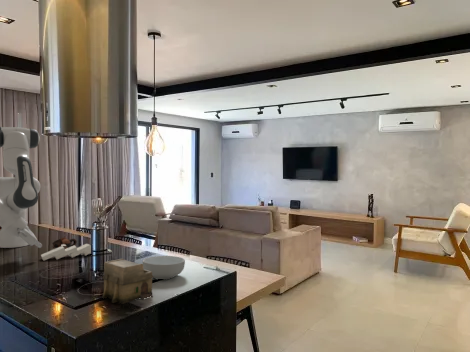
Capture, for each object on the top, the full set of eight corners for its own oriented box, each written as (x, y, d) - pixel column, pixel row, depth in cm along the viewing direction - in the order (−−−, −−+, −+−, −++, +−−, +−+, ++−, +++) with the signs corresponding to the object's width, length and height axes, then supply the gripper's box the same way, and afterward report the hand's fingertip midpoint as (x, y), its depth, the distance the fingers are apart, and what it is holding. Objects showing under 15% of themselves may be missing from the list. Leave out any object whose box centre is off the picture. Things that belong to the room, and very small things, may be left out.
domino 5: (91, 252, 180) (111, 250, 186) (89, 251, 184) (108, 249, 190) (91, 256, 180) (111, 254, 186) (89, 255, 184) (108, 252, 190)
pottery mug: (60, 254, 184) (53, 240, 185) (54, 259, 190) (48, 246, 191) (81, 245, 193) (75, 232, 194) (76, 250, 199) (69, 237, 200)
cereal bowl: (193, 277, 143) (193, 260, 143) (157, 286, 132) (158, 266, 132) (168, 269, 155) (168, 253, 155) (134, 276, 143) (134, 259, 144)
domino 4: (84, 251, 178) (102, 242, 185) (80, 251, 182) (97, 242, 189) (85, 255, 179) (103, 246, 186) (81, 254, 182) (99, 245, 189)
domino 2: (55, 255, 170) (76, 246, 176) (53, 253, 175) (74, 245, 180) (56, 259, 171) (77, 250, 176) (55, 257, 175) (75, 248, 180)
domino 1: (42, 256, 167) (64, 247, 173) (40, 254, 171) (62, 245, 177) (43, 260, 168) (65, 251, 173) (42, 258, 172) (63, 249, 177)
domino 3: (70, 254, 174) (90, 244, 181) (67, 252, 178) (86, 243, 184) (72, 257, 175) (91, 248, 181) (68, 256, 178) (88, 247, 185)
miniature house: (121, 307, 110) (122, 270, 110) (97, 297, 119) (98, 262, 119) (160, 295, 121) (161, 261, 122) (135, 286, 130) (136, 255, 130)
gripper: (24, 224, 157) (49, 244, 162) (21, 219, 174) (43, 238, 179) (12, 235, 154) (37, 255, 159) (10, 229, 171) (33, 248, 176)
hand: (40, 246), depth 169 cm, fingers closed
